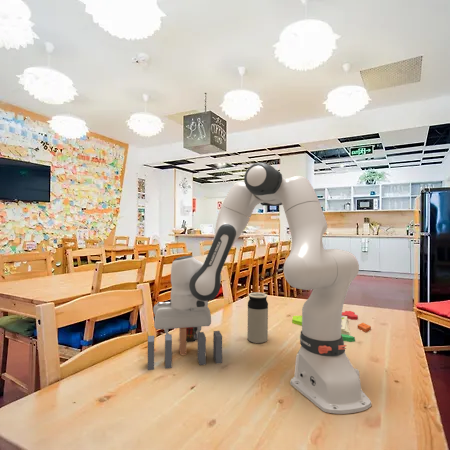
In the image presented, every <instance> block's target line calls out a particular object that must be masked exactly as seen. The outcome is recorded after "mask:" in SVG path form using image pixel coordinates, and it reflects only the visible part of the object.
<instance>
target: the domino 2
mask: <svg viewBox="0 0 450 450" xmlns="http://www.w3.org/2000/svg"><path fill="white" fill-rule="evenodd" d="M171 334H172V333H171ZM171 334H170V333H169V335H166V334H165V335H164V368H165V369H172V367H173V366H172V365H173V363H172V362H173V339H172V338H173V336H172V337H171Z"/></svg>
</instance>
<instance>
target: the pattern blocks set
mask: <svg viewBox="0 0 450 450" xmlns="http://www.w3.org/2000/svg"><path fill="white" fill-rule="evenodd" d="M358 318H359V316H358V314H356V313H355V312H354V311H351V310H345V311H342V322H341V335H342V337H343V341H344V342H349V343H351V342H356V338H355V336H352V334H351V331H350V326H349V323H348V320H350V321H351V320H352V321H358V320H359V319H358ZM291 320H292V321H291V322H292V325H297V326H301V327H302V315H293V316H292V317H291ZM371 328H372V326H371V325H369V324H368V323H365V322H360V323H358V324H357V329H358V330H360V331H361V330H362V332H363V333H364V334H365V333H367V332H369V330H370V331H371V330H372V329H371Z"/></svg>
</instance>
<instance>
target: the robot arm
mask: <svg viewBox="0 0 450 450" xmlns="http://www.w3.org/2000/svg"><path fill="white" fill-rule="evenodd" d="M243 177H244V178H243V181H237V182H235V183H233V184H232V186H231V187H230V189H229V190H228V192H227V194H226V196H225V198H224V200H223V201H222V204H221V206H220V209H219V212H218V215H217V217H216V218H217V219H216V223H215V228H214V229H215V230H214V236H213V240H212V243H211V246H210V248H209V251H208V253H207V255H206V257H205V259H204V261H203V262H202V261H201V260H199V259H197V258H195V256H193V255H184V256H180V257H176V258H175V259H174V260H173V261H172V263H171V267H170V268H171V270H170V284H171V290H170V301H165V302H163V301H160V302H159V301H158V302H157V303H155V304H154V306H153V309H152V310H153V311H152V312H153V315H154V325H153V327H154V328H155V330H164V333H165V335H169V334H170V333H169V329H170V330H172V329H179V328H188V327H197V331H196V333H194V339H198V332H202V327H210V326H211V324H212V314H211V310H210V308H209V306H208V305H209V301H212V300H214V299H215V298H216V297H217V296H218V295H219V293H220V291H221V290H220V289H221V283H222V271H223V268H224V266H225V263H226V260H227V258H228V255H229V253H230V251H231V249H232V248H233V246H234V244H235V243H236V242H237V240H238V239H239V238H240V237H241V236H242V234H243V232H244V231H245V229H246V227H247V225H248V223H249V221H250V219H251V216H252V214H253V212H254V209H255V208H256V206H258V205H259V204H261V206H263V207H264V206H265V207H266V206H268V207H269V206H271V207H278V206H282V208H283V211H284V214H285V216H286V220H287V221H286V222H287V224H288V227H289V232H290V236H291V246H290V247H291V248H290V252H289V255H288V256H287V258H286V259H285V261H284V263H283V274H284V278H285V280H286V282H287V283H288V285H289V286H291V287H292V288H294V289H299V290H307V291H309V290H310V291H311V293H310V295H309V296H308V298H307V300H305V302H304V303H303V305H302V309H301V316H302V326H301V331H300V335H299V340H300V341H299V344H300V349H299V350H298V352H297V353H296V356H295V357H296V358H295V363H294V364H295V367H294V374H293V375H294V376H293V377H291V379H290V381H289V384H290V386H292V387H293V388H294V389H296V390H297V391H298V392H299V393H301V394H302V395H303V396H304V397H305V398H307V399H308V400H309V401H310V402H312V403H313V404H314V405H315V406H316V407H318V408H319V409H320V410H321V411H323V412H325V413H329V414H335V415H336V414H337V415H343V414H345V415H346V414H353V413H359V412H363V411H366V410H367V409H370V408H371V406H372V400H370V398H369V397H368V396H367V394H366V393H365V392H364V391H363V390H362V385H361V383H362V382H361V379H360V371H359V369H358V368H354V366H353V364H352V362H351V361H350V359H349V357H348V356H347V354H346V350H347V348H346V347H347V345H346V344H345V341H343V337H342V335H341V322H342V312H343V307H344V304H345V299H346V297H347V294H348V291H349V289H350V285H351V284H352V282H353V281H354V280H355V279H356V278H357V276H358V274H359V270H360V264H359V261H358V258H356V256H355V255H354V254H353V253H352V252H350V251H347V250H343V249H340V248H329V249H328V248H327V249H325V248H324V243H323V235H324V234H325V233H326V232H327V229H328V223H327V222H328V221H327V220H326V216H325V214H324V212H323V208H322V205H321V202H320V200H319V197H318V195H317V193H316V192H315V189H314V187H313V185H312V184H311V182H310V181H309V179H308V178H307V177H305V176H302V175H294V176H291V177H287V178H286V177H284V175H283V174H282V173H281V172H280V171H279V170H278V169H276V168H275V167H273V166H272V165H271V164H268V163H266V162H256V163H253V164H251V165H250V166H249V167H248V168H247V169H246V171H245V173H244V176H243ZM171 337H172V338H173V334H172V333H171Z"/></svg>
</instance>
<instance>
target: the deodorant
mask: <svg viewBox="0 0 450 450" xmlns="http://www.w3.org/2000/svg"><path fill="white" fill-rule="evenodd" d="M196 331H197V327H188V328H186V343H193V342H194V343H195V342H196V341H197V342H198V339H194V333H196Z"/></svg>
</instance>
